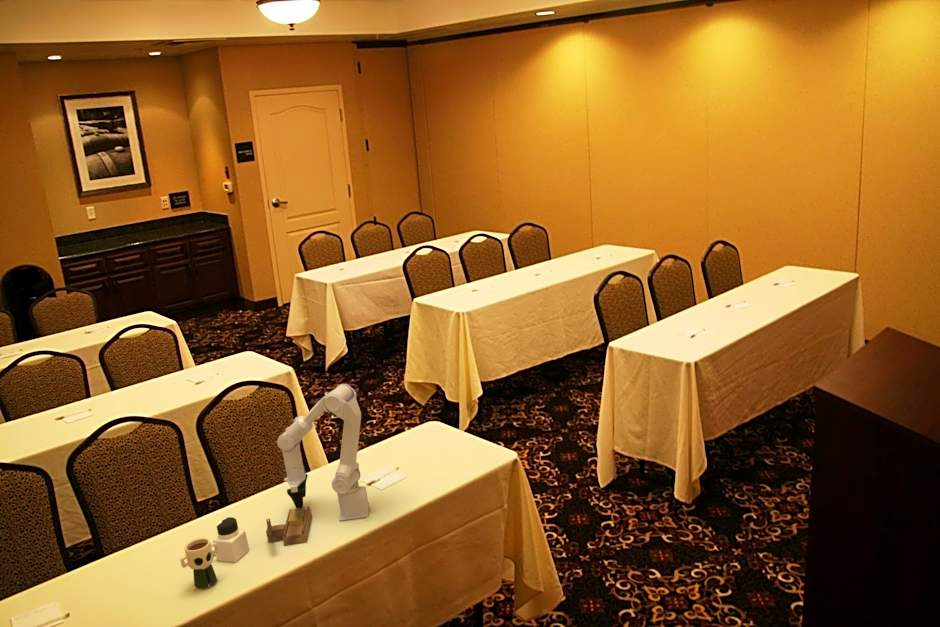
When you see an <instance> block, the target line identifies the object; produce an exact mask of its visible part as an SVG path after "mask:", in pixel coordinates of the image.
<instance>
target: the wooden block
mask: <svg viewBox="0 0 940 627" xmlns="http://www.w3.org/2000/svg"><path fill="white" fill-rule="evenodd" d="M290 509H291V513H290V516H289V520H288V523H289V527H292V526H298V525H303V523H304V518H305V514H306V510H307V509H306V507H305V506H303V507H302V508H296V507H295V508H290Z"/></svg>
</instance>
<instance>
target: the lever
mask: <svg viewBox="0 0 940 627" xmlns="http://www.w3.org/2000/svg"><path fill="white" fill-rule="evenodd" d="M265 520H266V528H267V527H268V533H269V539H270V544H272V543H274V541H273V534H272V527H271V526H272V522H271V518H266V519H265Z"/></svg>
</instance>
